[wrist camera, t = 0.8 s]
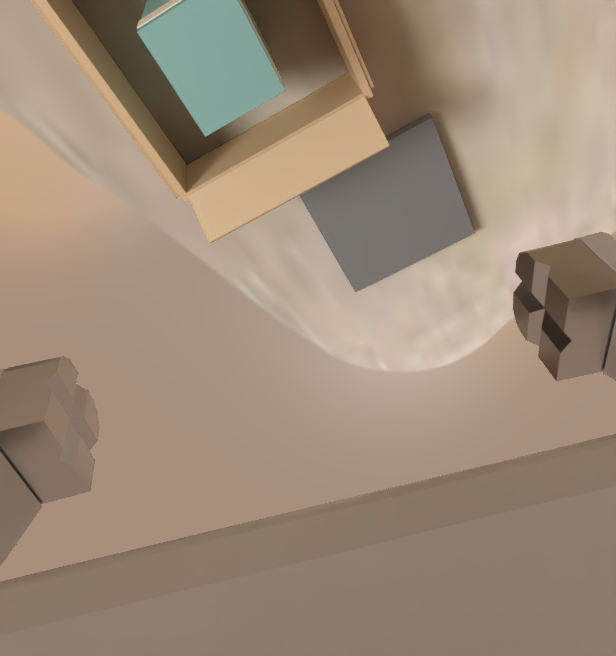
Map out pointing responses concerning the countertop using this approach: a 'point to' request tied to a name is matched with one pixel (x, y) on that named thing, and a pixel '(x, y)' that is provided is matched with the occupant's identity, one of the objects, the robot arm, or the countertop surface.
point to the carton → (249, 147)
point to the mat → (391, 206)
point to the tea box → (211, 57)
